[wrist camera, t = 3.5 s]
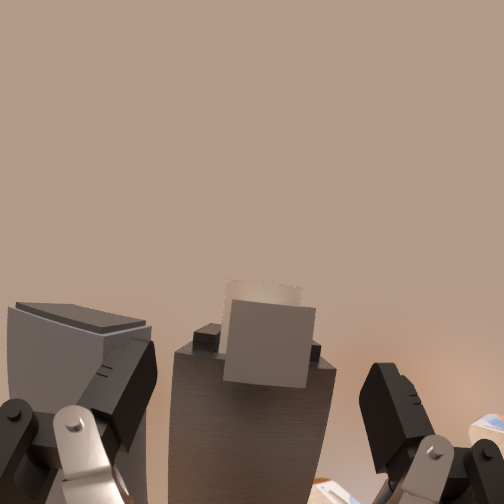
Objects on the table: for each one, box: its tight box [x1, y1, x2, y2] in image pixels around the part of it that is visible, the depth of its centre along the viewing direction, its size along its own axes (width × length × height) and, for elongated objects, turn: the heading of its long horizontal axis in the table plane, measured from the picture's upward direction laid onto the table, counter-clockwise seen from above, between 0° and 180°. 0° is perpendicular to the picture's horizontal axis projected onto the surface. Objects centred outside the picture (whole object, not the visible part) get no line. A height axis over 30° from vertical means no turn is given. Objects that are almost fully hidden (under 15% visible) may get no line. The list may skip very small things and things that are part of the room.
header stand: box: [168, 323, 336, 504], centre depth 19 cm, size 10×10×33 cm
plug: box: [219, 279, 316, 388], centre depth 17 cm, size 5×18×5 cm, turn 0°
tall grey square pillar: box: [7, 302, 152, 504], centre depth 20 cm, size 10×10×32 cm
